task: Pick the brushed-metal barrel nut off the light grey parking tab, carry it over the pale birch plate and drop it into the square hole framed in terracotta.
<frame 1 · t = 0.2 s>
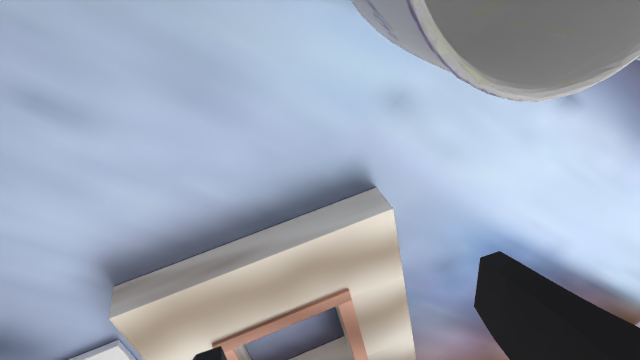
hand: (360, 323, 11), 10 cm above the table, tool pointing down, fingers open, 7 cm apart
hole plate: (290, 327, 26), on the table
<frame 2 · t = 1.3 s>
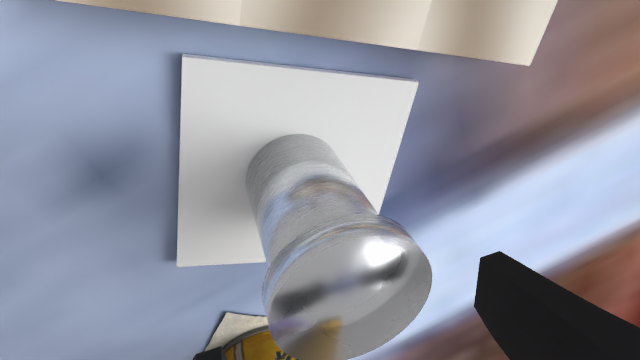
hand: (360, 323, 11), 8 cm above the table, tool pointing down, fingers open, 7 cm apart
barrel nut: (318, 228, 14), on the parking tab
parking tab: (291, 173, 18), on the table
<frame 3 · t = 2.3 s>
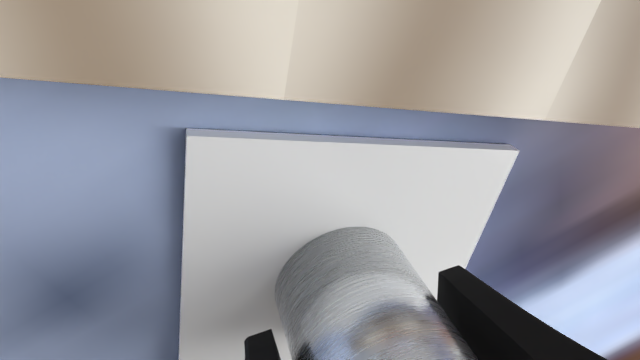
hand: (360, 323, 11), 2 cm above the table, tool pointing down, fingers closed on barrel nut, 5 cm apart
parking tab: (336, 271, 13), on the table
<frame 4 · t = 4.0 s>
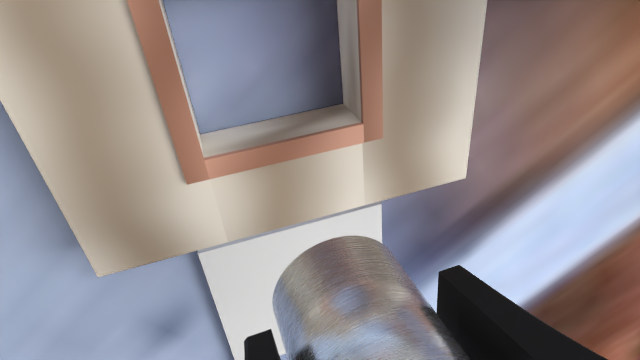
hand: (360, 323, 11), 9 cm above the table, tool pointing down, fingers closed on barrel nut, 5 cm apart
parking tab: (302, 287, 22), on the table
hole plate: (261, 43, 15), on the table
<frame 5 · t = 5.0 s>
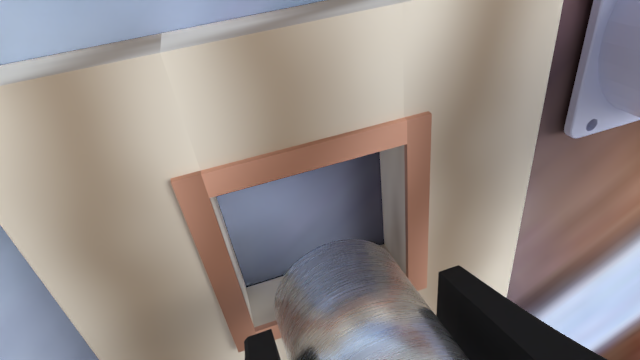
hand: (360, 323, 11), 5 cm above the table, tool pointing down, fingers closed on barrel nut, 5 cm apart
hole plate: (307, 208, 15), on the table
when the fingers open (5 cm above the table, at t = 5.5 s): barrel nut drops 3 cm, resting in hole plate.
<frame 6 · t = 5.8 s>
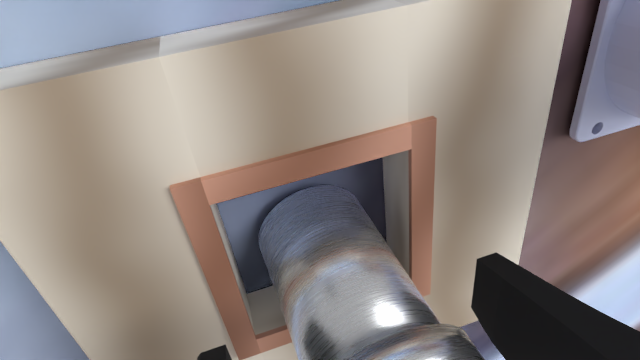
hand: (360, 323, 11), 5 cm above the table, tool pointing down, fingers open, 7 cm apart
barrel nut: (350, 305, 13), in the hole plate, tilted 7°
hole plate: (308, 213, 15), on the table
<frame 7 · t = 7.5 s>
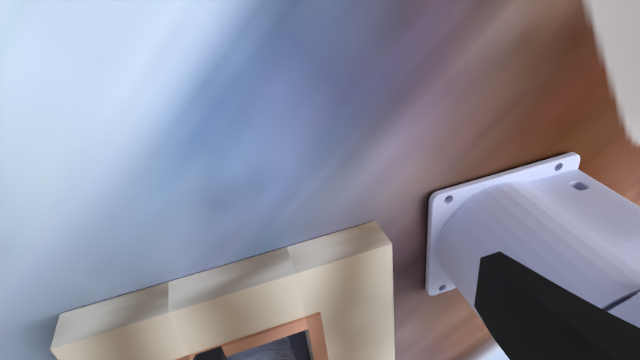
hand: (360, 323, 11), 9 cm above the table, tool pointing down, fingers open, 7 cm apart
hole plate: (256, 347, 25), on the table
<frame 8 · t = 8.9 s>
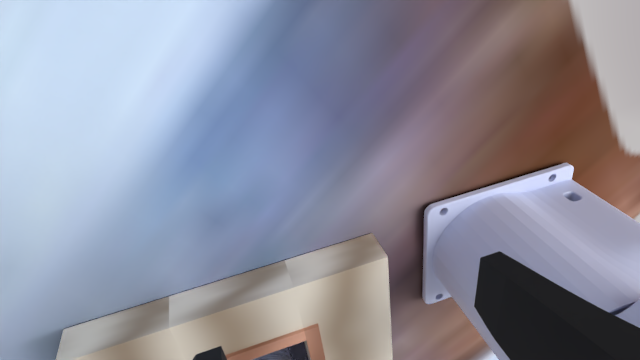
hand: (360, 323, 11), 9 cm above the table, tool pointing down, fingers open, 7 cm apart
hole plate: (256, 357, 25), on the table
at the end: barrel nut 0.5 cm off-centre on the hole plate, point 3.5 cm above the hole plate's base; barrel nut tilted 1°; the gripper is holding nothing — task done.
